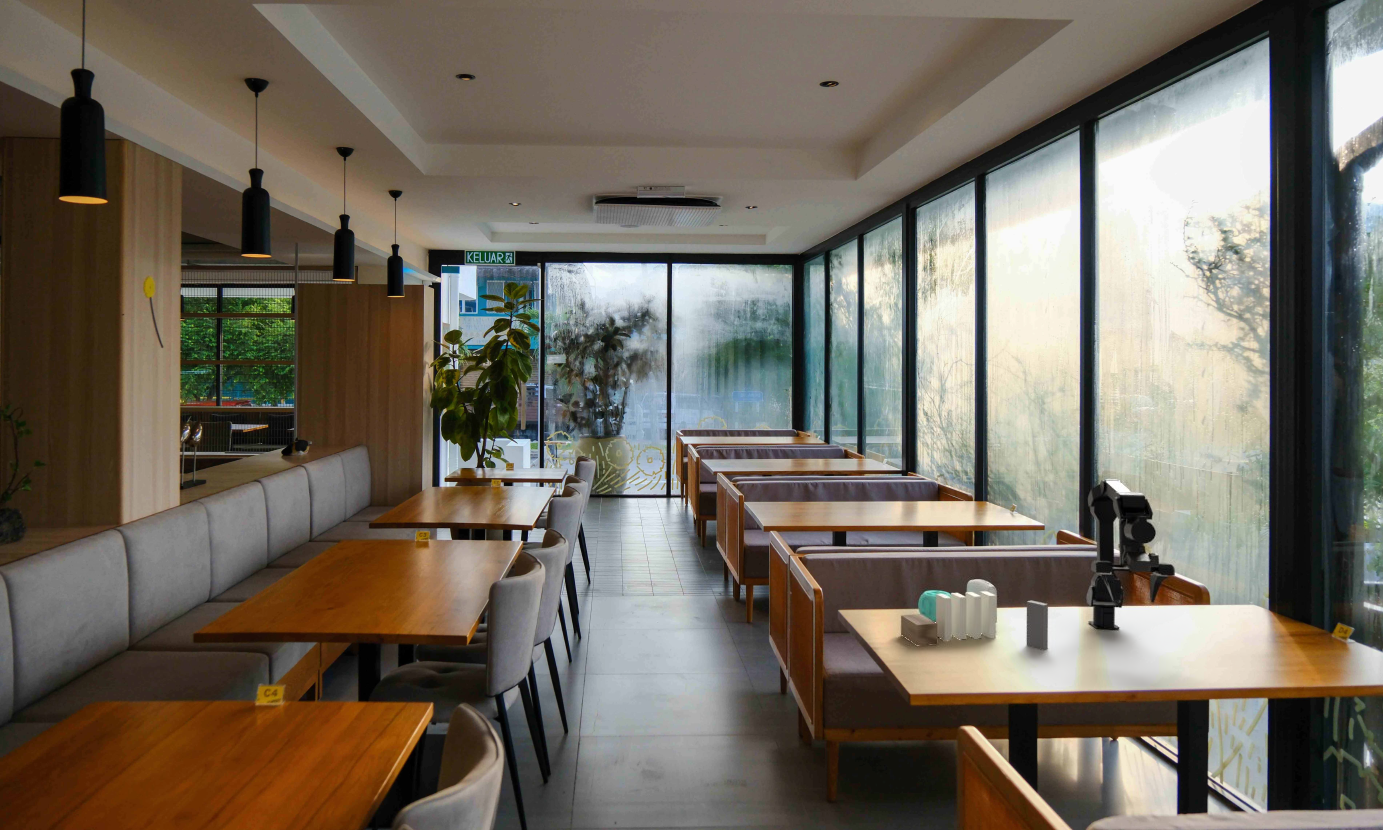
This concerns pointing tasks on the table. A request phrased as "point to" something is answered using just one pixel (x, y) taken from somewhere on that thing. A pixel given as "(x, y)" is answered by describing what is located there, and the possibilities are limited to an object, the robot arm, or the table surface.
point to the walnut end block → (919, 629)
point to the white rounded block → (981, 588)
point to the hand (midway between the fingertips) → (1132, 601)
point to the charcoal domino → (1037, 625)
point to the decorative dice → (929, 604)
